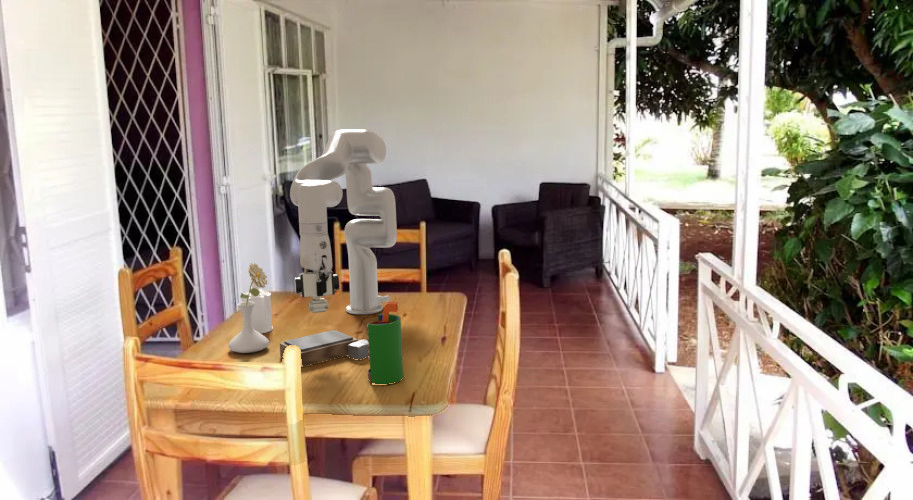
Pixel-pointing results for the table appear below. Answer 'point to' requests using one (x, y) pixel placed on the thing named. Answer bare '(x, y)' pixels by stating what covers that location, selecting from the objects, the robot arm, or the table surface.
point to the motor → (385, 347)
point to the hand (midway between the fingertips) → (316, 292)
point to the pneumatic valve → (315, 289)
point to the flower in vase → (248, 336)
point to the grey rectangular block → (358, 349)
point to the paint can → (260, 310)
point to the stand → (320, 346)
